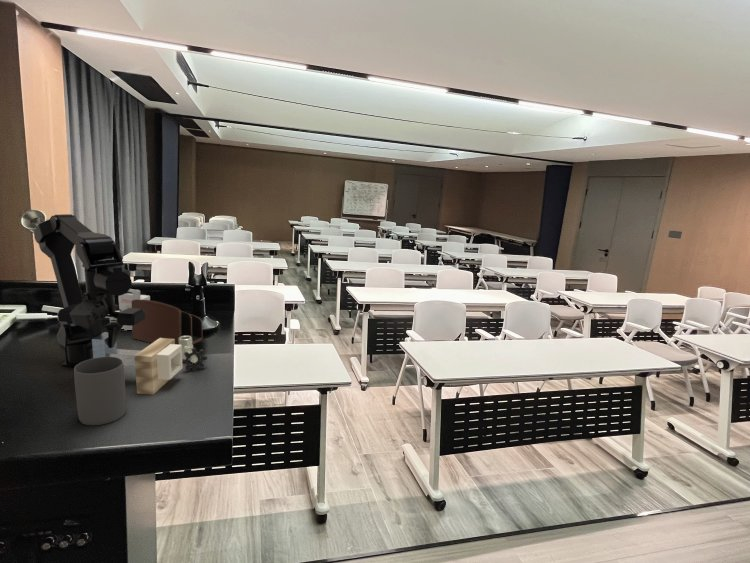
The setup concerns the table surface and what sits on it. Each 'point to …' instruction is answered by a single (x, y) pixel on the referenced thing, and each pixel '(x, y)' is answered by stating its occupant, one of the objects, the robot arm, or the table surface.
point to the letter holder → (165, 323)
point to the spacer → (169, 361)
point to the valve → (190, 353)
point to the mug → (100, 390)
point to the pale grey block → (112, 350)
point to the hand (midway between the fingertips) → (105, 347)
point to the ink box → (130, 302)
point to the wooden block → (150, 367)
